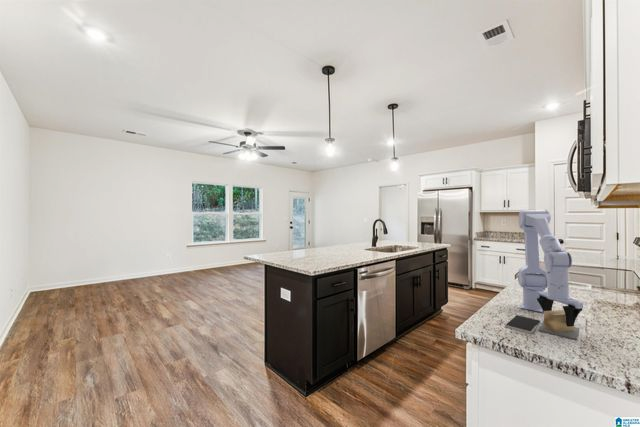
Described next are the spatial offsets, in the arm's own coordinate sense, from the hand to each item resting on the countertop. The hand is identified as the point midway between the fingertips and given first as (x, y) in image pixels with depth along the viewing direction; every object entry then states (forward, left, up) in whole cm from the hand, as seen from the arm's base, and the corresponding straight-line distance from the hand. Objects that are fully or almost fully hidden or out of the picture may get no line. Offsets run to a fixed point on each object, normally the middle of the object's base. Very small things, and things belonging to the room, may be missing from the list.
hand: (558, 321), depth 96 cm
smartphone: (+2, -10, -4) cm, 11 cm away
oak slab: (0, 0, -3) cm, 3 cm away
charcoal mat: (0, 0, -3) cm, 3 cm away
